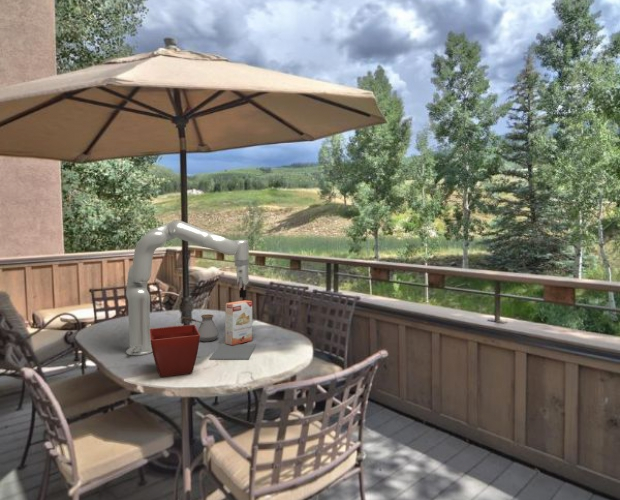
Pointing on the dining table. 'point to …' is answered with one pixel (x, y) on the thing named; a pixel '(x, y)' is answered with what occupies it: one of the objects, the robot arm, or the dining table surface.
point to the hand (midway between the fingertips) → (242, 297)
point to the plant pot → (175, 349)
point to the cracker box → (238, 322)
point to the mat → (233, 352)
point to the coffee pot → (206, 328)
